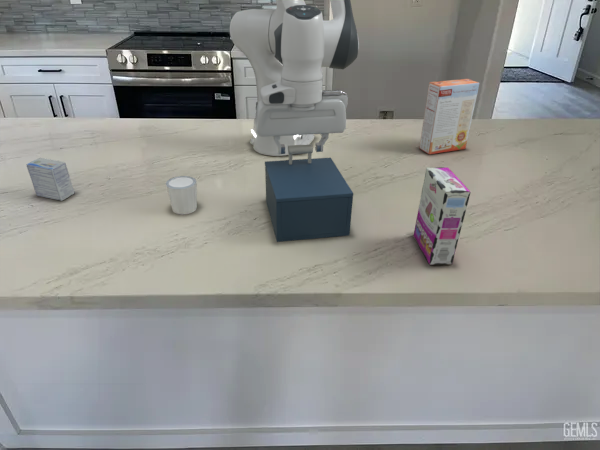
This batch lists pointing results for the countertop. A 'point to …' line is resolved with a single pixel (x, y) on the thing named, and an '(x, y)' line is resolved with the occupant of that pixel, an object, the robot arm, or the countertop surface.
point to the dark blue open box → (308, 217)
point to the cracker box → (448, 115)
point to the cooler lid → (306, 177)
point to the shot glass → (182, 194)
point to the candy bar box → (440, 215)
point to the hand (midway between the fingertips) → (300, 152)
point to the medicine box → (50, 178)
